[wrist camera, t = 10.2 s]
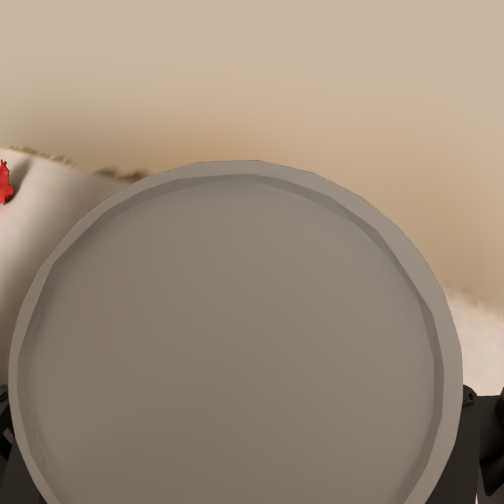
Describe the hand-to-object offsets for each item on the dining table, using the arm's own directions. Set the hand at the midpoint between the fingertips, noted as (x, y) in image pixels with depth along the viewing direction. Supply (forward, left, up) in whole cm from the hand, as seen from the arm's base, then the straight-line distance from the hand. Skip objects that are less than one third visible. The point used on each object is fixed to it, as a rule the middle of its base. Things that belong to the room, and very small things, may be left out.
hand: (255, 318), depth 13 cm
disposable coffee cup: (+1, -3, -4) cm, 5 cm away
